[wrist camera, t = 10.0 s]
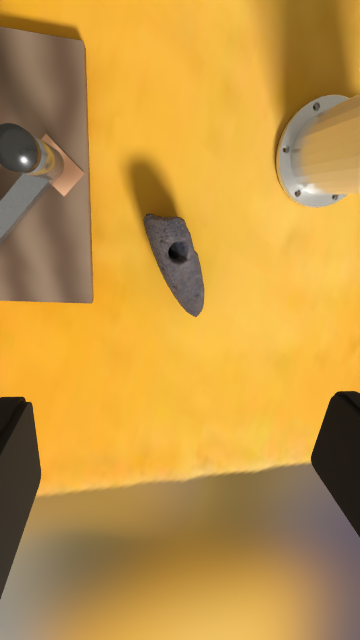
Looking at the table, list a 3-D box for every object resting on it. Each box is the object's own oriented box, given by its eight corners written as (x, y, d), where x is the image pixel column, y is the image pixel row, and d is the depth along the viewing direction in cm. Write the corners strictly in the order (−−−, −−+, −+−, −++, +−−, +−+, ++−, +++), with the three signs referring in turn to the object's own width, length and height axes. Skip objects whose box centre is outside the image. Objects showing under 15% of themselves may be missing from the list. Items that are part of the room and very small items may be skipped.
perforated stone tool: (208, 302, 44) (220, 320, 37) (175, 314, 44) (182, 333, 37) (177, 201, 37) (185, 201, 31) (139, 214, 37) (140, 217, 31)
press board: (85, 48, 30) (82, 39, 29) (93, 299, 41) (91, 304, 39) (-122, 13, 27) (-140, 0, 26) (-56, 294, 38) (-66, 299, 36)
